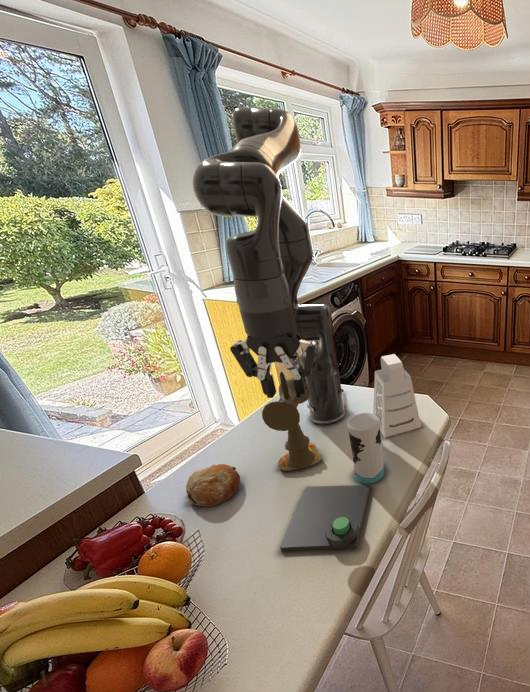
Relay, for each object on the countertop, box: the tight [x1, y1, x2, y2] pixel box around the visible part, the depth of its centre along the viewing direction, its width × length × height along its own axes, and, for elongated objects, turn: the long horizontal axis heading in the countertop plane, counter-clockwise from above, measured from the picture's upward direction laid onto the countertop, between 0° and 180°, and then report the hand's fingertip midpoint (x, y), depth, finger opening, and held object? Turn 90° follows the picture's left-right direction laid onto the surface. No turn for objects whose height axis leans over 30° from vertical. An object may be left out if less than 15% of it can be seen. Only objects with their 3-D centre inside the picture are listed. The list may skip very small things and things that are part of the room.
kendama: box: [261, 371, 315, 470], centre depth 74 cm, size 6×10×20 cm, turn 7°
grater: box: [372, 353, 422, 438], centre depth 111 cm, size 10×10×20 cm
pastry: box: [277, 441, 322, 472], centre depth 98 cm, size 9×7×4 cm
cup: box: [346, 412, 385, 485], centre depth 93 cm, size 7×7×15 cm
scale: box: [279, 484, 372, 553], centre depth 83 cm, size 16×14×3 cm
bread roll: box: [185, 463, 241, 508], centre depth 89 cm, size 10×10×8 cm
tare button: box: [333, 517, 350, 536], centre depth 78 cm, size 3×3×2 cm
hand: (286, 395), depth 72 cm, fingers closed on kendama, 4 cm apart
